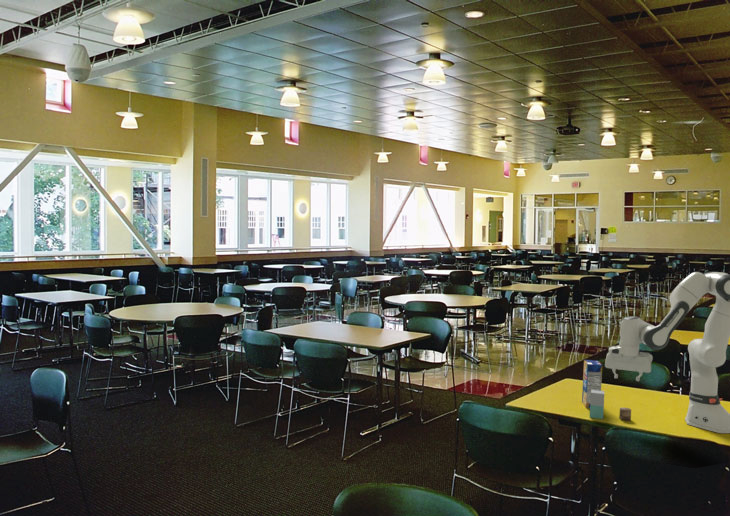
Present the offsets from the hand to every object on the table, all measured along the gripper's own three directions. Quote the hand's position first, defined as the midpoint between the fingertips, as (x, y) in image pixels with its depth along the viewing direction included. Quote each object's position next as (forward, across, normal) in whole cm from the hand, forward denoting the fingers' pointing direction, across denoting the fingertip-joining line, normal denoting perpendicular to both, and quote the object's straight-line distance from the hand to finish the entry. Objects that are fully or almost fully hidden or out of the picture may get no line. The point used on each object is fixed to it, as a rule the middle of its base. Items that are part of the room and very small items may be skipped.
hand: (626, 379), depth 293 cm
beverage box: (+20, +15, -18) cm, 31 cm away
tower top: (+13, +12, +1) cm, 18 cm away
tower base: (+19, +12, +1) cm, 23 cm away
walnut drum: (+19, 0, 0) cm, 19 cm away
